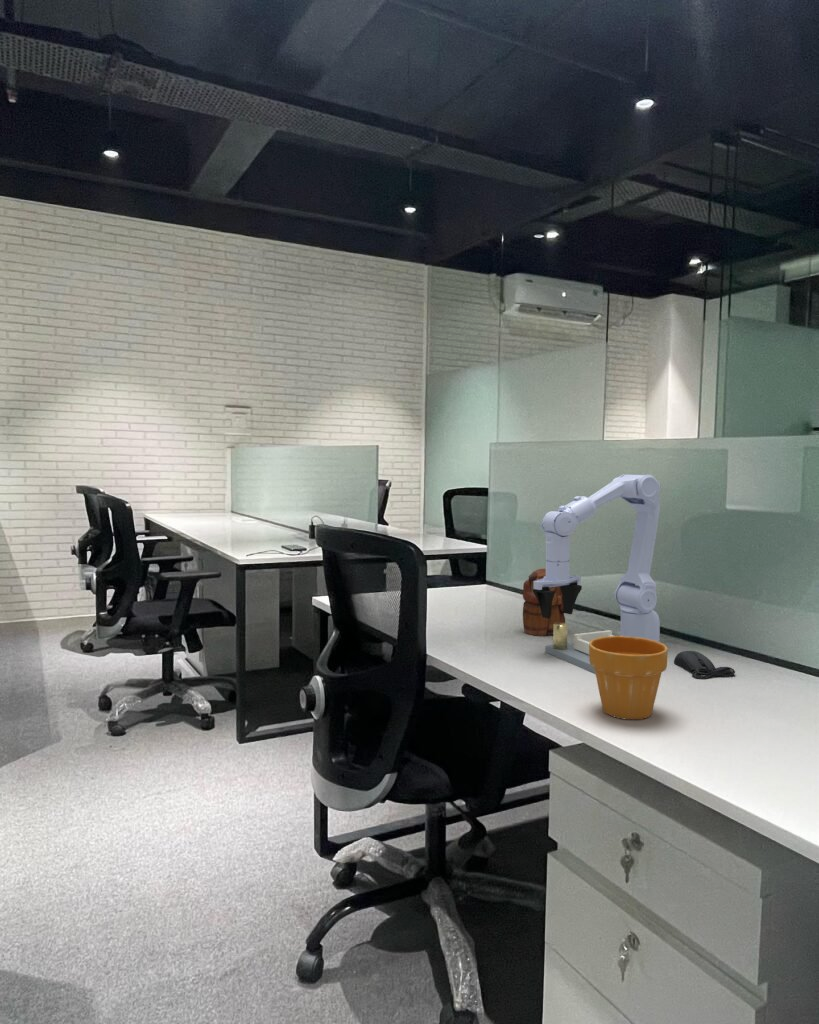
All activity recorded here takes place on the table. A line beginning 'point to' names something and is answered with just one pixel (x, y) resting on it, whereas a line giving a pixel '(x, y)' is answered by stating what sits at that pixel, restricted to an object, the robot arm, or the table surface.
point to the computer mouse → (701, 665)
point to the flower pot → (627, 674)
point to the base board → (572, 656)
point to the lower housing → (588, 639)
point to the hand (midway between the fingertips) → (557, 615)
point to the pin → (560, 636)
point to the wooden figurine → (532, 611)
